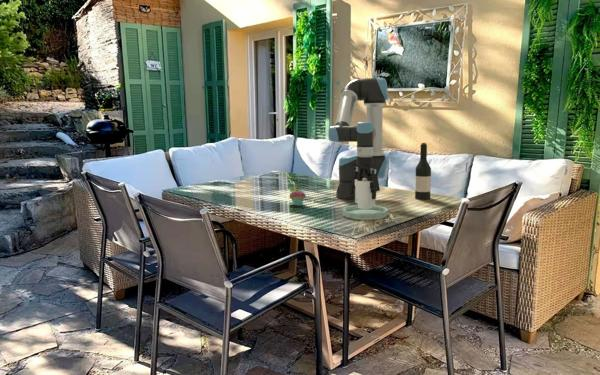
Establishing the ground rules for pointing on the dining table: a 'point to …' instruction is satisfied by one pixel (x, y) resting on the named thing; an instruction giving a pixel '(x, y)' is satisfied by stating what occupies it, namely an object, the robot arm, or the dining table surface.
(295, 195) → the cupcake
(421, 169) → the wine bottle
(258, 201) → the dining table surface
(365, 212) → the saucer
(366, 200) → the foam cup
